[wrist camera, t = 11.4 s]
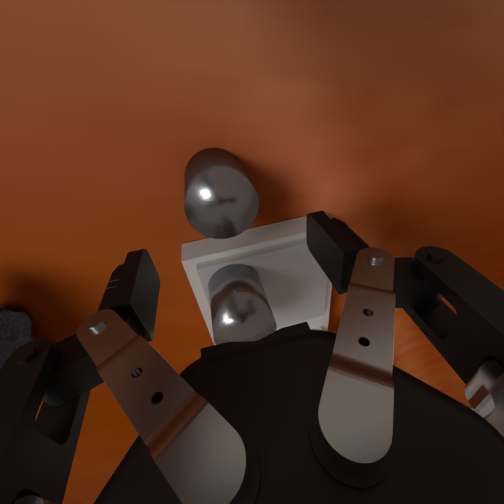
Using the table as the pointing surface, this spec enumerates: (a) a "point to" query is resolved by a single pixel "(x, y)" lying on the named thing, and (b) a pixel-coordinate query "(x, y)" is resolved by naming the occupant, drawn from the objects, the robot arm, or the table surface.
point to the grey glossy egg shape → (239, 305)
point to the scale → (266, 271)
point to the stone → (13, 332)
